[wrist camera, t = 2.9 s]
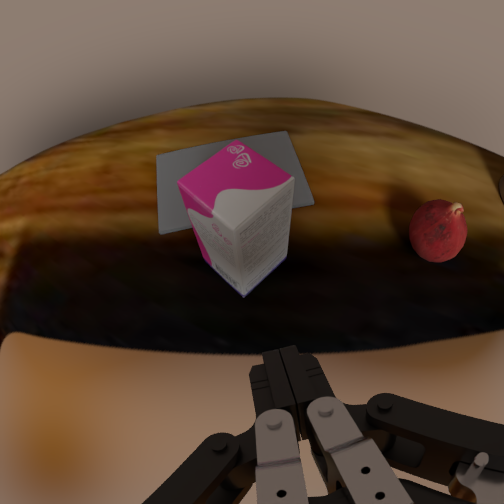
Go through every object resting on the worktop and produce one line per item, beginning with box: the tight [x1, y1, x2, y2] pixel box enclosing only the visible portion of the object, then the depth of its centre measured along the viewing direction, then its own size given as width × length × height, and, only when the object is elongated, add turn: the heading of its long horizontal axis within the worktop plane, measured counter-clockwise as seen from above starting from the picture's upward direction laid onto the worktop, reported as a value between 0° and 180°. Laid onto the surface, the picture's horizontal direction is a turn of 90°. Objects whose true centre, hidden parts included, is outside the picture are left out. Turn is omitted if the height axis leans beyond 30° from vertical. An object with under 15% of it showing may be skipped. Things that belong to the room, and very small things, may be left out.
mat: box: [157, 131, 314, 234], centre depth 35 cm, size 16×11×1 cm
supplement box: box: [177, 140, 295, 297], centre depth 25 cm, size 6×6×12 cm
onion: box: [409, 199, 467, 262], centre depth 26 cm, size 6×6×8 cm
